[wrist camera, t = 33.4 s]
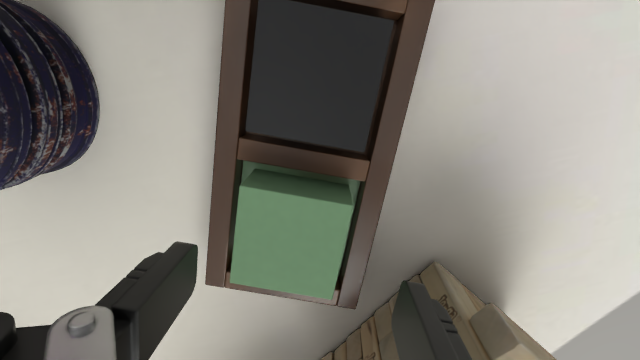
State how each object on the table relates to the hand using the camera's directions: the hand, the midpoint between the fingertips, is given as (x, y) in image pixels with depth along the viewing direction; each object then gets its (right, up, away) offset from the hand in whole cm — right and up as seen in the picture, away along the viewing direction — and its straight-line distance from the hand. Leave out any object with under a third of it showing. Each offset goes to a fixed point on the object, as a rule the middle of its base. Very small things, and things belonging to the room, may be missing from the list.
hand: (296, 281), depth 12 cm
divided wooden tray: (0, +6, +6) cm, 8 cm away
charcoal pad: (+1, +9, +4) cm, 10 cm away
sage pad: (-1, +2, +7) cm, 7 cm away
